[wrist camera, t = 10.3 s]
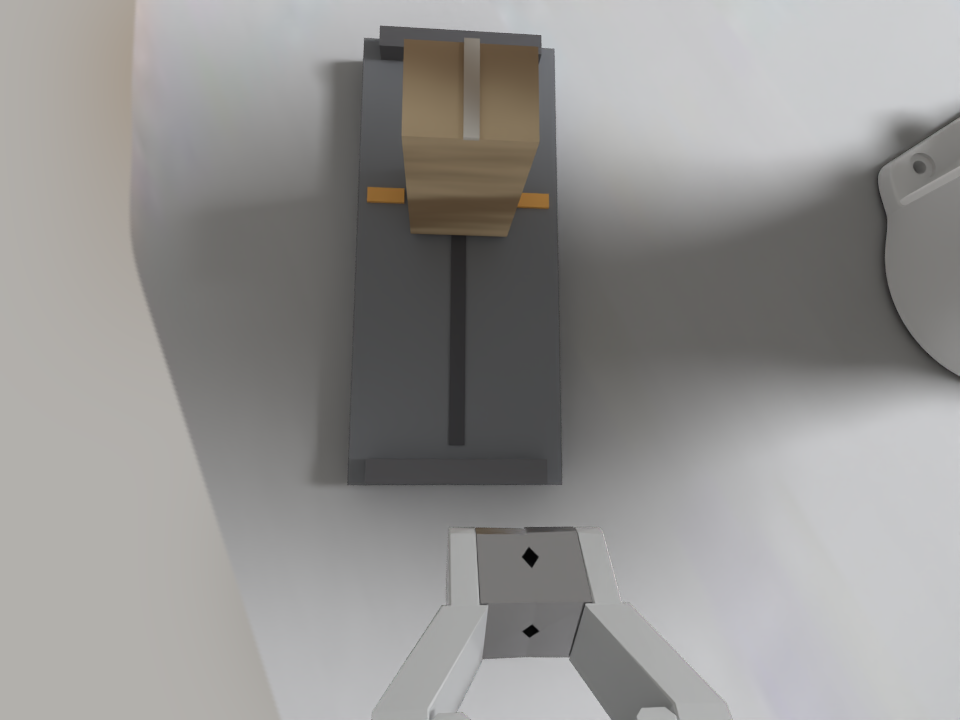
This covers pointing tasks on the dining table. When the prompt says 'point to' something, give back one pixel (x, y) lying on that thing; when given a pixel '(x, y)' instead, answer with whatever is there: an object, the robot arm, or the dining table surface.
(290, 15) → the dining table surface
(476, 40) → the fader knob
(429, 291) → the fader track
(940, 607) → the dining table surface
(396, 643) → the dining table surface
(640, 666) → the robot arm
